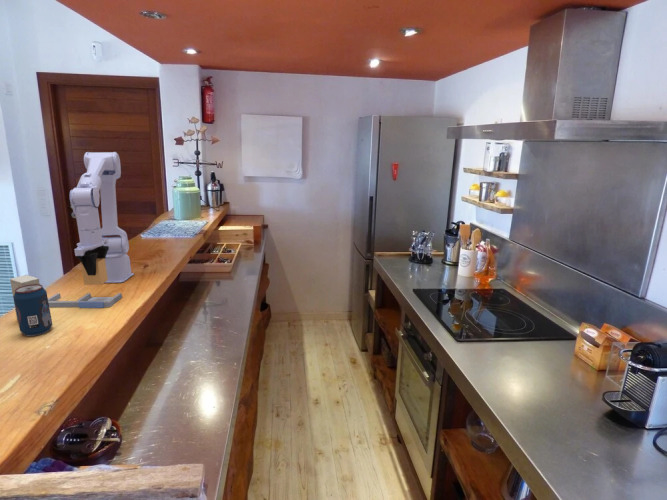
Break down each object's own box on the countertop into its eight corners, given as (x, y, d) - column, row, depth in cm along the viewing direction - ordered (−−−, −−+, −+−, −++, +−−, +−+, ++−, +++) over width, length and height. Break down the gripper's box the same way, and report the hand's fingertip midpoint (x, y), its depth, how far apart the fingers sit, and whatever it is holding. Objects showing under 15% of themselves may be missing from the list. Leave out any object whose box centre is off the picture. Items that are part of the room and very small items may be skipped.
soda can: (22, 328, 110) (14, 285, 107) (54, 323, 113) (46, 281, 110) (18, 339, 104) (9, 294, 101) (52, 333, 107) (44, 289, 104)
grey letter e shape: (57, 297, 131) (56, 292, 130) (122, 297, 131) (121, 292, 131) (40, 308, 123) (39, 302, 122) (109, 307, 123) (108, 302, 123)
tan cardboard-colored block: (91, 280, 129) (88, 258, 127) (107, 280, 129) (104, 258, 127) (84, 284, 125) (80, 262, 123) (101, 284, 125) (97, 262, 123)
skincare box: (16, 320, 114) (8, 278, 111) (34, 314, 118) (26, 274, 115) (29, 325, 112) (20, 282, 109) (47, 319, 115) (39, 277, 112)
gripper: (89, 223, 129) (95, 265, 133) (60, 234, 115) (68, 280, 119) (112, 223, 129) (117, 265, 133) (86, 234, 115) (93, 280, 119)
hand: (96, 272), depth 126 cm, fingers closed on tan cardboard-colored block, 4 cm apart
